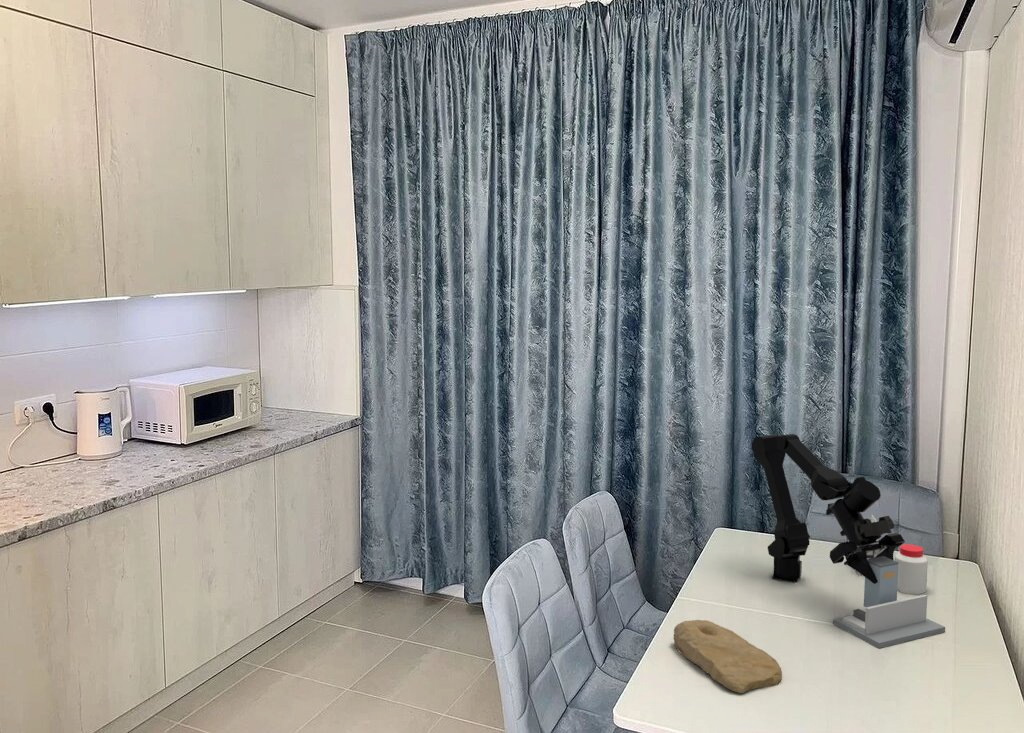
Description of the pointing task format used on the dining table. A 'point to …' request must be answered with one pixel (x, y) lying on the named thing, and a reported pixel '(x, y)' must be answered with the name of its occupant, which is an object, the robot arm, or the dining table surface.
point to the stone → (726, 656)
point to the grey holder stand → (891, 622)
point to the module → (881, 582)
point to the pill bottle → (911, 569)
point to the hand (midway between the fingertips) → (885, 581)
